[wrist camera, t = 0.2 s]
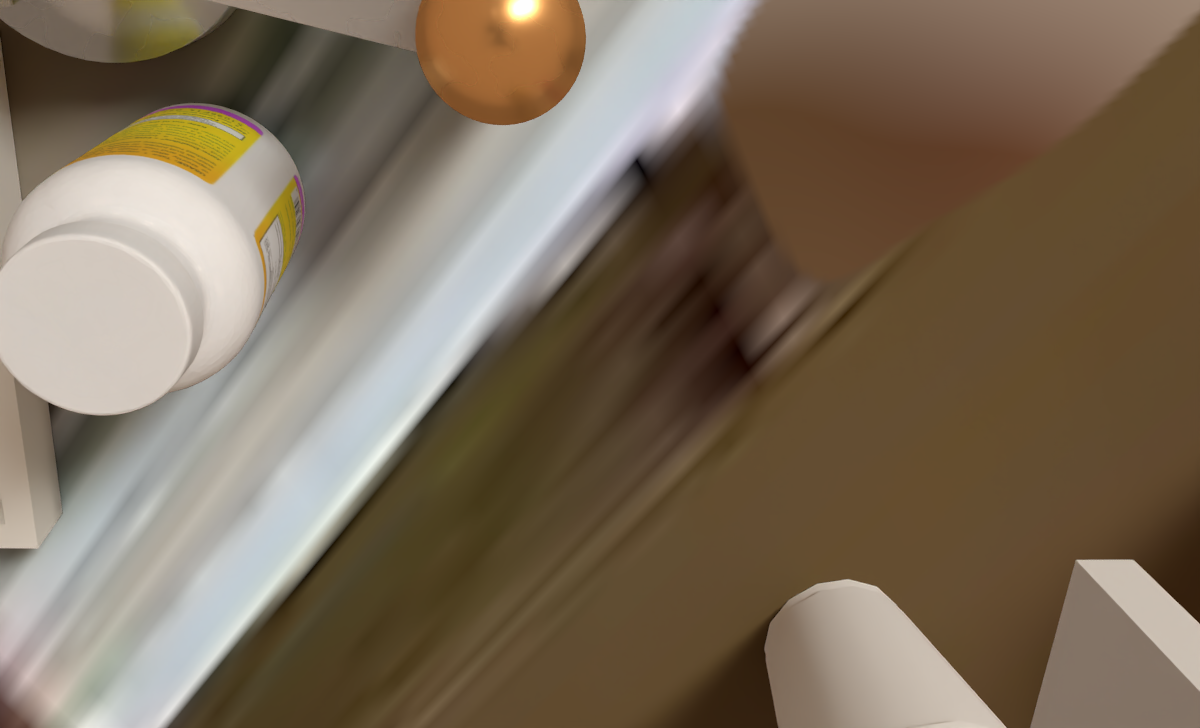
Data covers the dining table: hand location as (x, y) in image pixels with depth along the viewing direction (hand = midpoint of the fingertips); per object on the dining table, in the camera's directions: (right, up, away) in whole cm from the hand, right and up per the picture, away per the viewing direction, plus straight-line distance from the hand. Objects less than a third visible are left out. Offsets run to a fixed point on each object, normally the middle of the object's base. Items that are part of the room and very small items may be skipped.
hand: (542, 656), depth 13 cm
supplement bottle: (-13, +9, +25) cm, 29 cm away
